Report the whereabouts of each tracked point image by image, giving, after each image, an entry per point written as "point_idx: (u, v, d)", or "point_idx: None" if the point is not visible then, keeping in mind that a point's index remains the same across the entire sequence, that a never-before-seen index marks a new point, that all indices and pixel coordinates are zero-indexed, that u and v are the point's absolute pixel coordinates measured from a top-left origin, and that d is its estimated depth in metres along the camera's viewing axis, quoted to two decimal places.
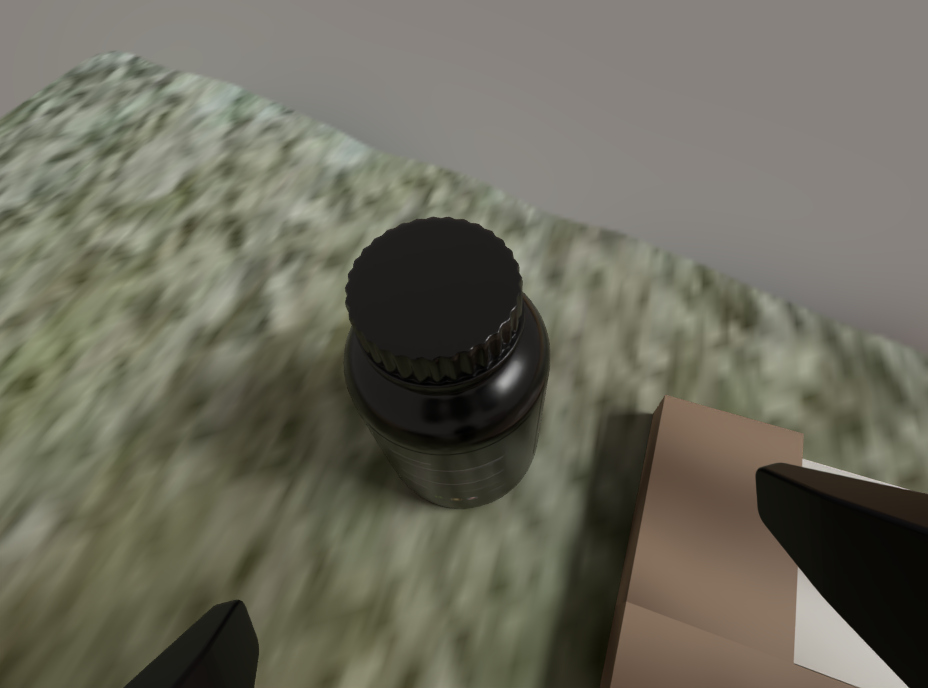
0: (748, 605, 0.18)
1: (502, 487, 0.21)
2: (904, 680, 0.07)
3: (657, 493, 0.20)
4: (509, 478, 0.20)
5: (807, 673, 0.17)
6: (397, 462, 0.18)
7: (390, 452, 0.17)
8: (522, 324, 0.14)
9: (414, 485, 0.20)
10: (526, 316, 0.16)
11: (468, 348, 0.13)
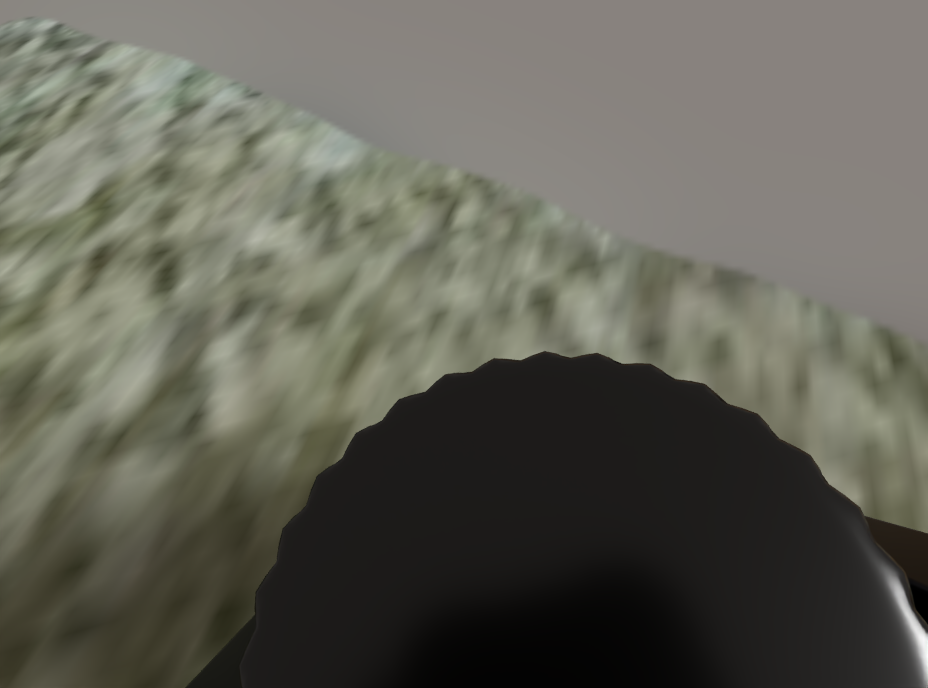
0: None
1: None
2: None
3: None
4: None
5: None
6: None
7: None
8: None
9: None
10: None
11: None
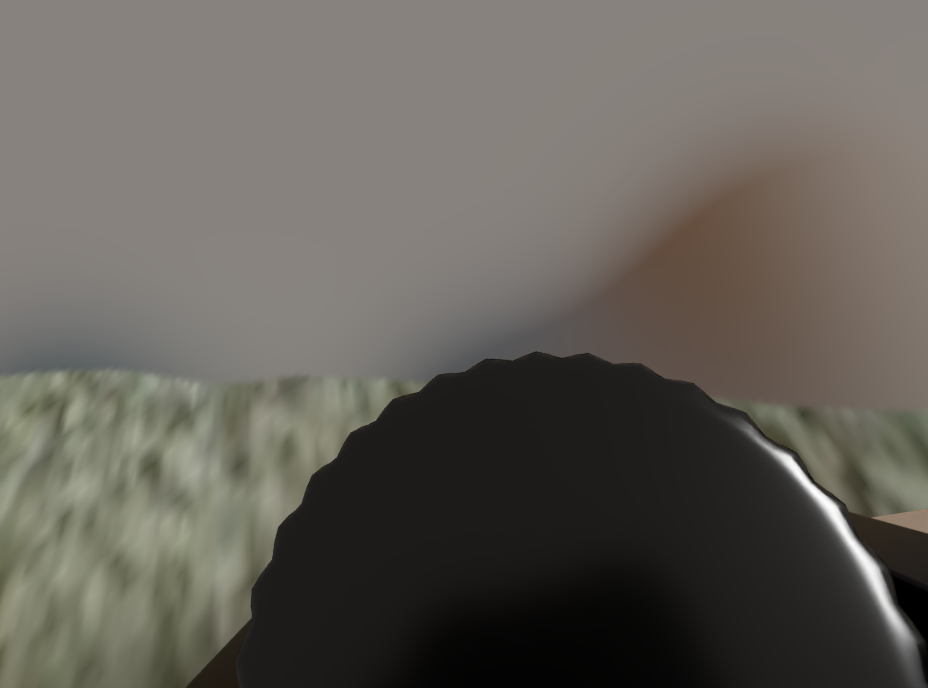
0: None
1: None
2: None
3: None
4: None
5: None
6: None
7: None
8: None
9: None
10: None
11: None
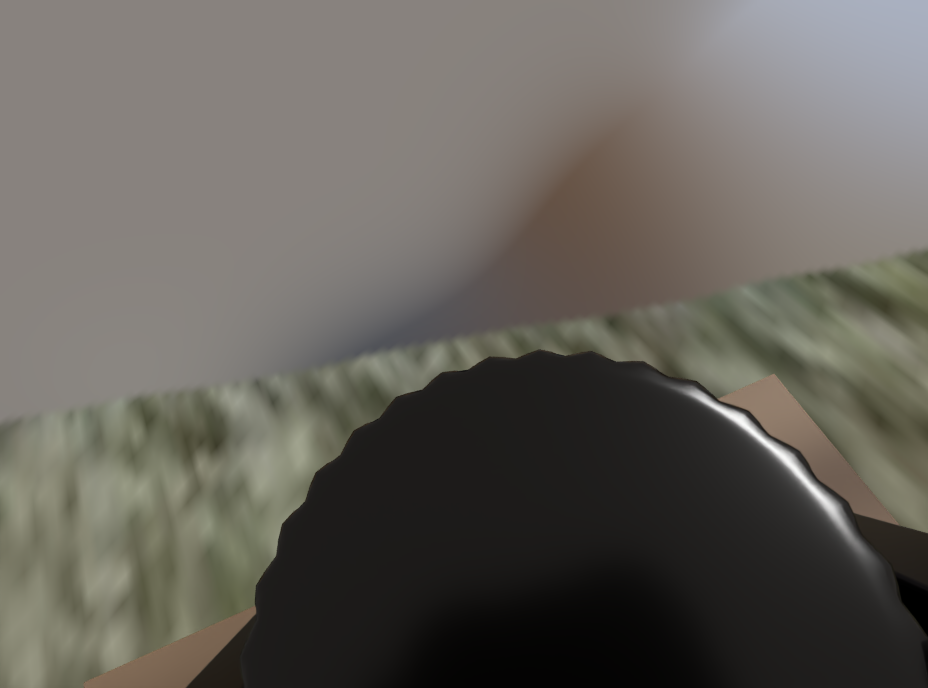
0: None
1: None
2: None
3: None
4: None
5: None
6: None
7: None
8: None
9: None
10: None
11: None
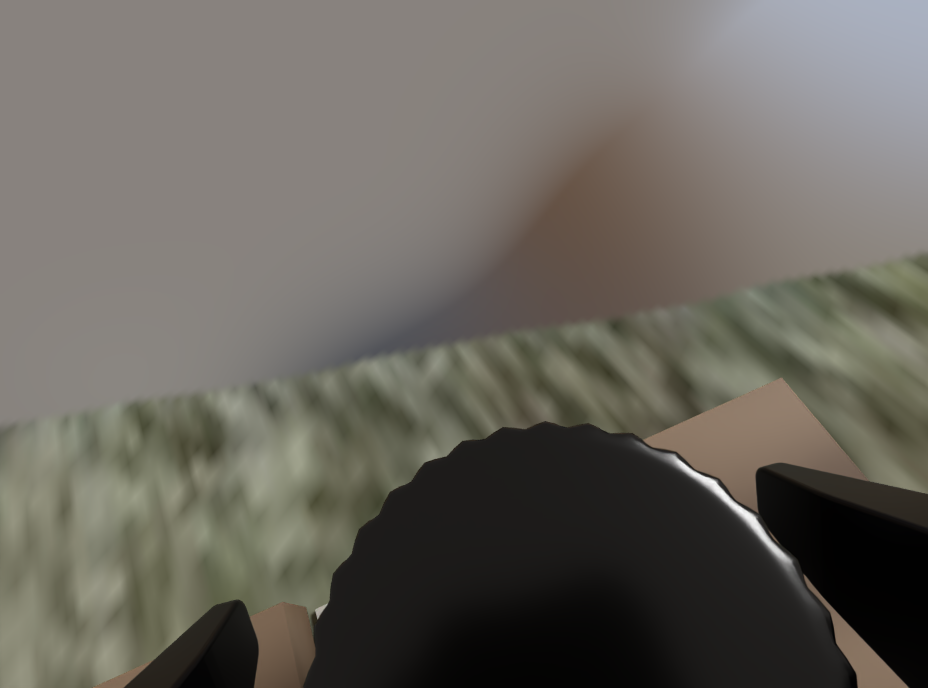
0: None
1: None
2: (904, 681, 0.07)
3: None
4: None
5: None
6: None
7: None
8: None
9: None
10: None
11: None
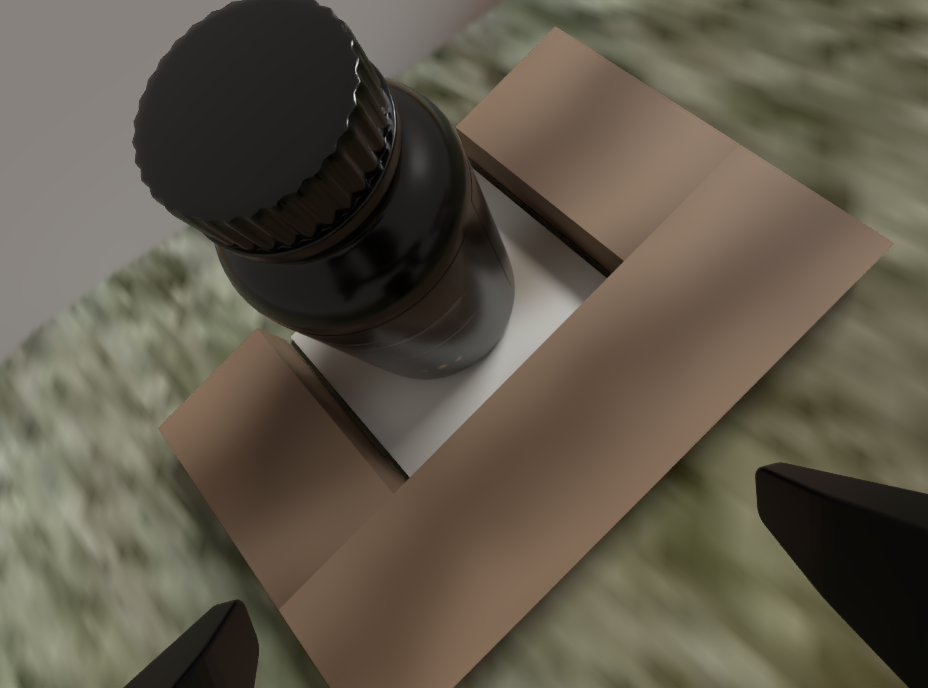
0: (338, 496, 0.18)
1: (488, 333, 0.18)
2: (904, 681, 0.07)
3: (222, 506, 0.19)
4: (490, 320, 0.17)
5: (404, 488, 0.17)
6: (352, 354, 0.15)
7: (334, 346, 0.14)
8: (394, 113, 0.10)
9: (392, 370, 0.18)
10: (409, 108, 0.12)
11: (315, 169, 0.09)
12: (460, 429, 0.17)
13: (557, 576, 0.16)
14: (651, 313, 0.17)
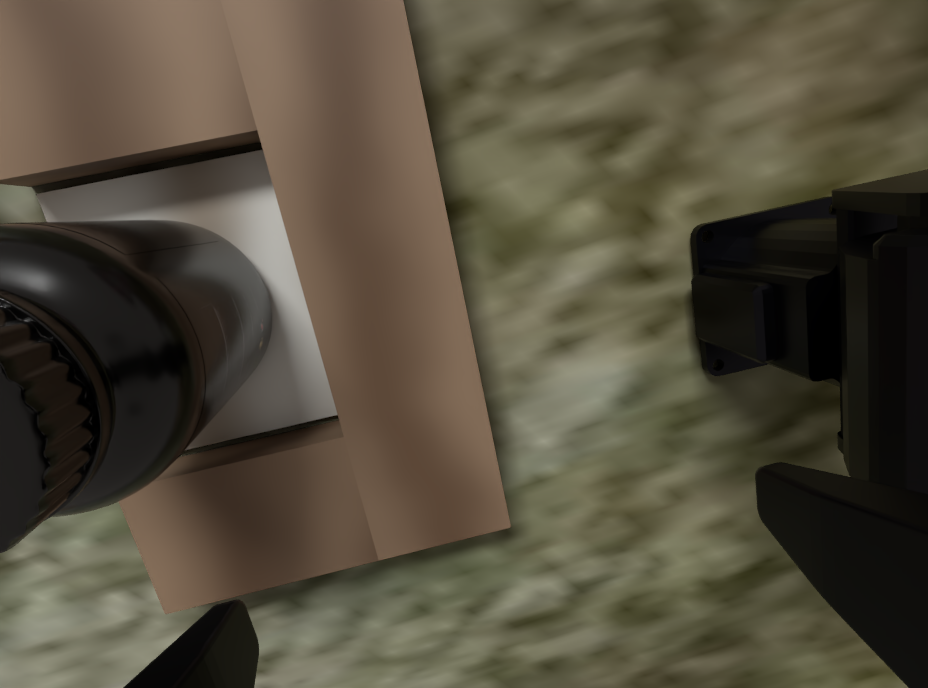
0: (320, 480, 0.20)
1: (253, 289, 0.18)
2: (905, 681, 0.07)
3: (272, 578, 0.20)
4: (243, 282, 0.17)
5: (344, 426, 0.19)
6: None
7: None
8: None
9: (238, 389, 0.18)
10: None
11: (31, 413, 0.08)
12: (324, 358, 0.19)
13: (471, 348, 0.19)
14: (320, 144, 0.17)
